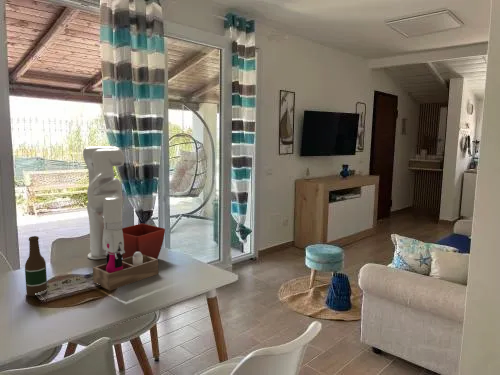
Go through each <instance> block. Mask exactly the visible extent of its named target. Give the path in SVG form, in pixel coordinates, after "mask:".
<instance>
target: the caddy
mask: <svg viewBox="0 0 500 375" xmlns="http://www.w3.org/2000/svg"><path fill="white" fill-rule="evenodd" d="M142 255H143V254H142ZM122 266H123V270H119V271H116V272H113V273H108V272H106V267H107V262H106V263H103V264H100V265H96V266H92V274H93V276H92V278H93V283H94V282H95V283H98V284H100V285H101V286H100V287H102V288H104V289H106V290H108V291H113V290H116V289H118V288H121V287H125V286H128V285H131V284H134V283H135V282H138V281H142V280H145V279H149V278H150V277H153V276H156V275H159V259H158V258H157V259H155V258H152V257H149V256H146V255H143V263H142V264H139V265H136V266H134V265H133V256H131V257H128V258H124V259H123V258H122ZM95 283H94V284H95Z"/></svg>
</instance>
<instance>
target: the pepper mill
mask: <svg viewBox="0 0 500 375" xmlns="http://www.w3.org/2000/svg"><path fill="white" fill-rule="evenodd" d="M107 248H109V244H107ZM118 251H119V250H118ZM108 254H109V256H110V257H109V262H108V264H107V267H106V272H108V273H113V272H116V271H119V270H123V266H121V267H118V268H115V259H116V258H115V253H111V252H109V251H108ZM118 254H119V253H117V255H118Z"/></svg>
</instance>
